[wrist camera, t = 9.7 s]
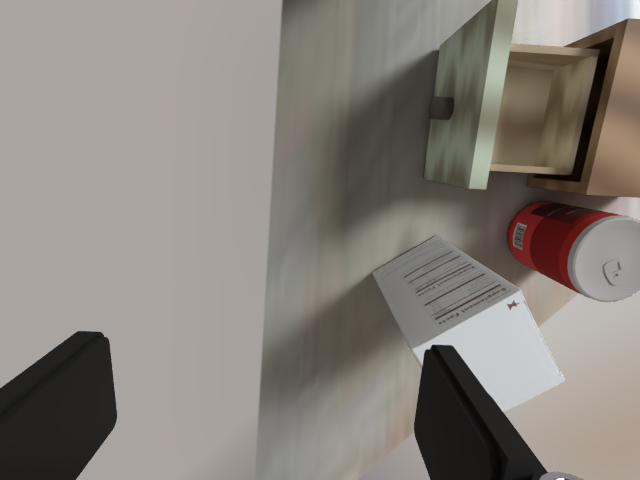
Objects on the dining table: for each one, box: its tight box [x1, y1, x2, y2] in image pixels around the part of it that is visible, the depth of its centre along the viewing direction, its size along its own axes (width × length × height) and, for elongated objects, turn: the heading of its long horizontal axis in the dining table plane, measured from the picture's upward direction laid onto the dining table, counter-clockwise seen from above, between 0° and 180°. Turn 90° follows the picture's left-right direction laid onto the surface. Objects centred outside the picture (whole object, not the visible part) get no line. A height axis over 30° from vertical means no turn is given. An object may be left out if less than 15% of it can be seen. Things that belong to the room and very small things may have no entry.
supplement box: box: [372, 235, 565, 412], centre depth 34 cm, size 10×9×17 cm
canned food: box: [507, 202, 640, 302], centre depth 35 cm, size 8×8×11 cm
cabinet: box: [526, 18, 640, 198], centre depth 33 cm, size 14×12×9 cm
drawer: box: [424, 0, 600, 189], centre depth 31 cm, size 14×14×12 cm
